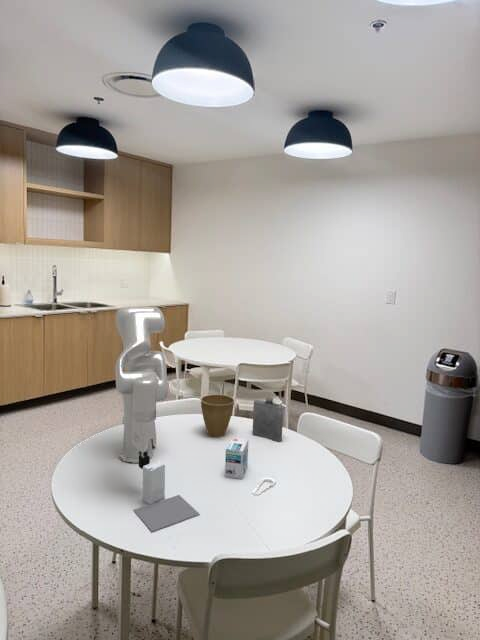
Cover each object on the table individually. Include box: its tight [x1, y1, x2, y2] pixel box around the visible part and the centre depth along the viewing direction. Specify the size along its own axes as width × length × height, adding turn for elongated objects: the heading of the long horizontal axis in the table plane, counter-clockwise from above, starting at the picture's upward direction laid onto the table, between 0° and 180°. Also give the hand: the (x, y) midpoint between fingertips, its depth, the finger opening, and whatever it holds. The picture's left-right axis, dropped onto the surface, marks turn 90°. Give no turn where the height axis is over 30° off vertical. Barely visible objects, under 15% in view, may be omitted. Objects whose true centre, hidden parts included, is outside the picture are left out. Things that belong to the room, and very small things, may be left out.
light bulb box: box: [224, 437, 249, 480], centre depth 166 cm, size 11×7×11 cm, turn 168°
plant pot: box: [200, 394, 235, 438], centre depth 199 cm, size 15×15×16 cm
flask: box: [251, 397, 284, 443], centre depth 198 cm, size 4×14×18 cm, turn 58°
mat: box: [133, 494, 200, 533], centre depth 139 cm, size 13×16×1 cm
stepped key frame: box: [251, 476, 277, 496], centre depth 156 cm, size 13×5×2 cm, turn 157°
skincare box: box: [142, 460, 166, 505], centre depth 145 cm, size 6×4×12 cm
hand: (144, 466), depth 151 cm, fingers closed
